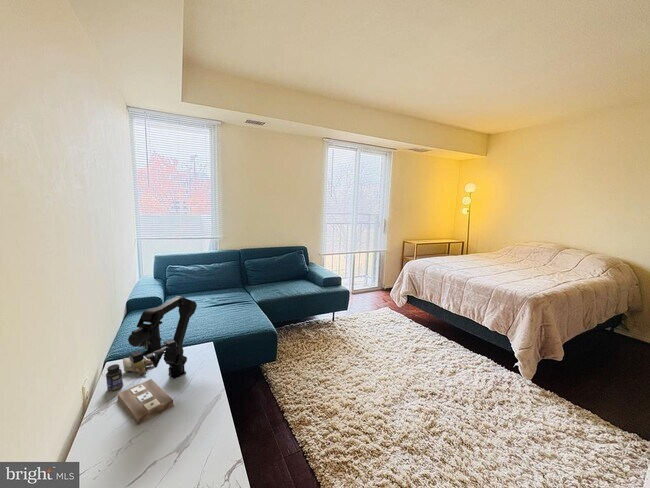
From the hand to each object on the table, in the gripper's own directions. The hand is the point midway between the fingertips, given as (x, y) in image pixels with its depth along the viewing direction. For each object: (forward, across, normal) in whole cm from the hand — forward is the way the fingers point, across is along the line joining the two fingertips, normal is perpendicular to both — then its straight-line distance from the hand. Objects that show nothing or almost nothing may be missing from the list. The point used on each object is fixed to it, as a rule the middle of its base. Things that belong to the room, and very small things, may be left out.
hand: (155, 367), depth 133 cm
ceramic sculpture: (+12, 0, -26) cm, 29 cm away
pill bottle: (+12, +12, -18) cm, 25 cm away
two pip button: (+12, +7, -3) cm, 14 cm away
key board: (+12, +7, +5) cm, 15 cm away
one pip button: (+12, +7, +13) cm, 19 cm away
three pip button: (+12, +7, +5) cm, 15 cm away
